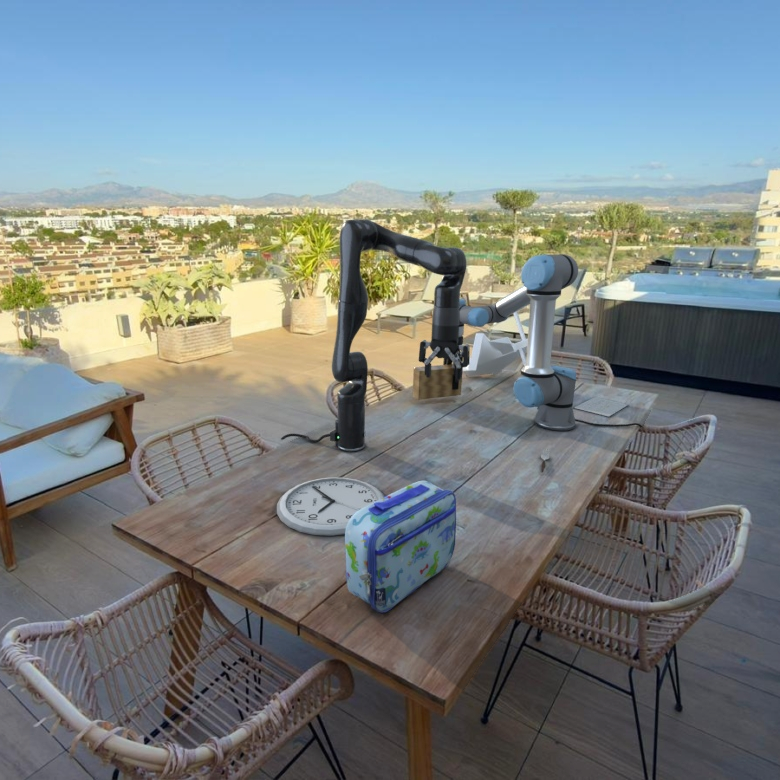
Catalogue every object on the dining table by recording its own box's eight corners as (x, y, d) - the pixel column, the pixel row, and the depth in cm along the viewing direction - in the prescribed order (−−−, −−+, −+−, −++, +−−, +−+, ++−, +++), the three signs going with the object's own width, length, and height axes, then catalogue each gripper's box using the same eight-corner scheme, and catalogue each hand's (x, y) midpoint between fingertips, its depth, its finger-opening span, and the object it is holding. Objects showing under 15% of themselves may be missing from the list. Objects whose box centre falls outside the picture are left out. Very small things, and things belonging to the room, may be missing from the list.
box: (454, 391, 235) (456, 363, 231) (460, 395, 230) (462, 367, 226) (412, 395, 228) (413, 367, 224) (418, 399, 222) (419, 371, 219)
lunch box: (374, 626, 100) (375, 530, 93) (338, 598, 107) (337, 508, 101) (459, 568, 117) (465, 484, 111) (424, 547, 124) (427, 467, 118)
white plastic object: (482, 418, 267) (461, 395, 242) (463, 346, 289) (443, 318, 265) (552, 394, 255) (538, 367, 230) (527, 321, 277) (512, 289, 252)
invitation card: (608, 416, 214) (573, 407, 224) (608, 416, 214) (573, 408, 224) (628, 404, 229) (594, 396, 238) (628, 405, 229) (594, 397, 238)
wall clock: (392, 527, 129) (268, 531, 127) (391, 533, 130) (269, 537, 127) (383, 473, 158) (282, 475, 155) (383, 478, 158) (282, 480, 156)
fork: (537, 473, 163) (538, 467, 163) (541, 453, 178) (542, 448, 177) (546, 474, 163) (546, 468, 162) (549, 454, 177) (550, 449, 176)
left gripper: (416, 322, 144) (415, 379, 148) (467, 326, 139) (464, 385, 143) (425, 318, 150) (423, 372, 155) (474, 322, 145) (470, 378, 150)
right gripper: (436, 331, 230) (434, 381, 237) (457, 340, 213) (454, 394, 220) (451, 330, 233) (449, 380, 240) (473, 339, 216) (469, 392, 223)
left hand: (442, 378), depth 149 cm, fingers open, 8 cm apart
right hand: (451, 386), depth 230 cm, fingers closed on box, 6 cm apart
